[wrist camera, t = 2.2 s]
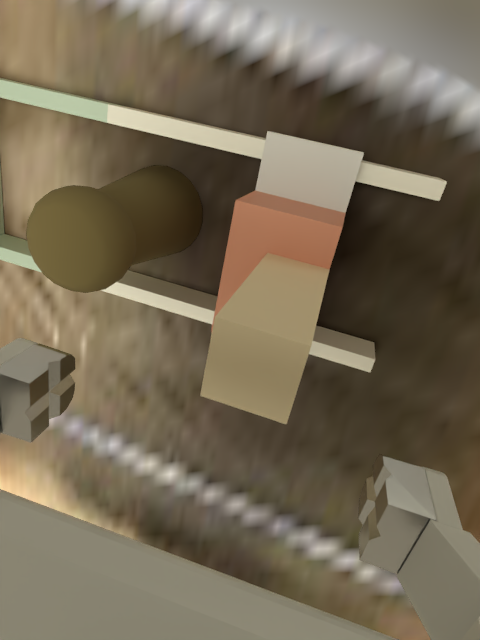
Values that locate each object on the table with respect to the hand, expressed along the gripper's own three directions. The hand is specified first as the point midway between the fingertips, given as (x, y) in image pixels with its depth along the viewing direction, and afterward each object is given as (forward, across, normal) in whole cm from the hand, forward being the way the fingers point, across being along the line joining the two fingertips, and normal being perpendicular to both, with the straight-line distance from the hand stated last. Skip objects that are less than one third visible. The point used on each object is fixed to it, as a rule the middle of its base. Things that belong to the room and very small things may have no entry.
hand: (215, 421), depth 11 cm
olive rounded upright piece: (+19, +10, 0) cm, 21 cm away
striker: (+18, 0, 0) cm, 18 cm away
